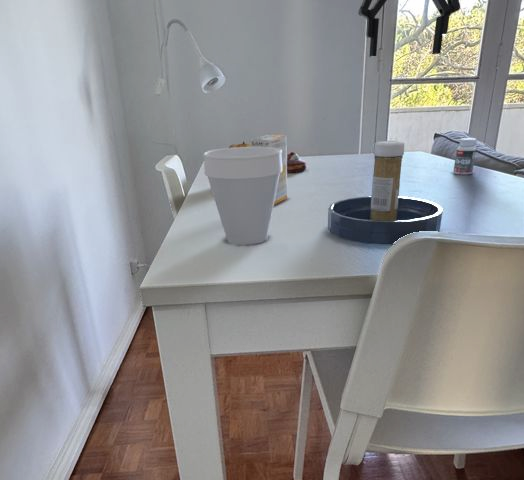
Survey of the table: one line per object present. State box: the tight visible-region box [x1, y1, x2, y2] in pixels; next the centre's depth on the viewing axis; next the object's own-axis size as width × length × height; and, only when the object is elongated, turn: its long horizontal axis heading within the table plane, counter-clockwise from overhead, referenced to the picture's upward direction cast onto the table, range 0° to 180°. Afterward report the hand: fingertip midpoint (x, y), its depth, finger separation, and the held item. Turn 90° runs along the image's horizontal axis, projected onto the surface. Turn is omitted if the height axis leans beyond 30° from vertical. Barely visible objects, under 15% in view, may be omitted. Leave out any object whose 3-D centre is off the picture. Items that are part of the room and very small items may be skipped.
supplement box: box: [249, 134, 288, 206], centre depth 100 cm, size 8×5×13 cm, turn 154°
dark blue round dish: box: [327, 195, 444, 245], centre depth 79 cm, size 18×18×4 cm
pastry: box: [287, 151, 307, 173], centre depth 137 cm, size 8×8×5 cm
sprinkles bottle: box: [370, 140, 406, 221], centre depth 76 cm, size 5×5×14 cm
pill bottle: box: [452, 137, 478, 176], centre depth 123 cm, size 5×5×8 cm
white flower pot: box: [202, 147, 283, 246], centre depth 76 cm, size 12×12×14 cm
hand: (404, 55), depth 99 cm, fingers open, 13 cm apart
